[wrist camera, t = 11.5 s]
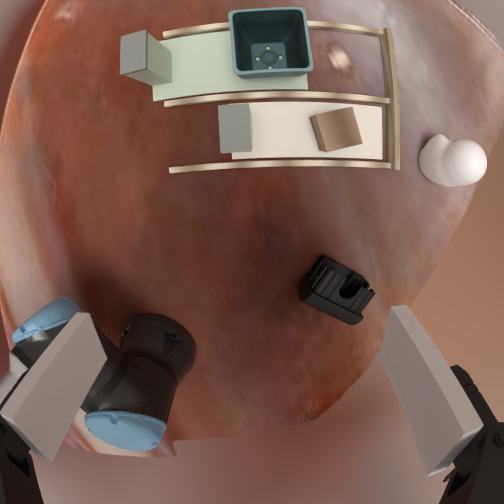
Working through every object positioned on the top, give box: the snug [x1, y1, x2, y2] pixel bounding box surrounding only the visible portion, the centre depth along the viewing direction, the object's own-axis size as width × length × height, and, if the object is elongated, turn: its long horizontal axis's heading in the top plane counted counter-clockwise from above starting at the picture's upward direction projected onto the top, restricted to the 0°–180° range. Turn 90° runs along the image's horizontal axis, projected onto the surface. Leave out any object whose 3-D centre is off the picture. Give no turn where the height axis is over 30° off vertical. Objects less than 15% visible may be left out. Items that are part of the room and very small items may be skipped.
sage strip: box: [120, 30, 308, 102], centre depth 29 cm, size 22×10×11 cm, turn 93°
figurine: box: [419, 134, 487, 187], centre depth 33 cm, size 7×8×12 cm
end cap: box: [298, 254, 375, 325], centre depth 44 cm, size 10×7×7 cm
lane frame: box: [163, 21, 400, 173], centre depth 35 cm, size 33×22×3 cm
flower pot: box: [228, 7, 313, 79], centre depth 30 cm, size 9×9×9 cm
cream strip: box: [218, 102, 382, 159], centre depth 33 cm, size 22×8×11 cm, turn 93°
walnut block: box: [309, 107, 363, 152], centre depth 35 cm, size 5×5×5 cm
